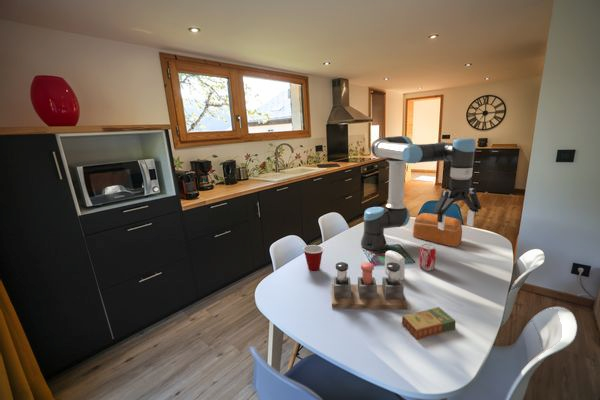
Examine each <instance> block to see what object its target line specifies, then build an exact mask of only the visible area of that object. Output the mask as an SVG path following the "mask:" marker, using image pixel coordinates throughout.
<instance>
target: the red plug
mask: <svg viewBox="0 0 600 400" xmlns="http://www.w3.org/2000/svg"><path fill="white" fill-rule="evenodd" d="M360 269H361V271H362V272H361V274H362V276H361V277H362V285H372V277H373V271H374V269H375V265H374V264H373V263H371V262H367V261H366V262H362V263H361V264H360Z"/></svg>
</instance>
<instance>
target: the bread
mask: <svg viewBox="0 0 600 400" xmlns="http://www.w3.org/2000/svg"><path fill="white" fill-rule="evenodd" d="M437 217H438V214H436V213H435V214H434V213H429V212H427V213H426V212H422V213H420V214H417V216H416V217H415V219H414V222H413V230H412V236H413V237H414V238H416V239H421V240H424V241H427V242H433V243H437V244H440V245H444V246H449V247H453V248H454V247H458V246H459V245H460V244H461V243H462V240H463V239H462V238H463V236H462V235H463V226H462V221H461V220H460V219H458V218H455V217H451V216H448V215H445V224H444V230H440V229H438V221H437Z"/></svg>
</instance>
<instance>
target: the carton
mask: <svg viewBox="0 0 600 400" xmlns="http://www.w3.org/2000/svg"><path fill="white" fill-rule="evenodd" d="M456 323H457V322H456V319H455V318H453V317H452V316H451V315H449V314H448V313H447V312H445V311H444V310H443V309H442V308H441V307H440V306H439V307H438V306H437V307H434V308H429V309H425V310H421V311H417V312H414V313H410V314H409V313H408V314H404V315H402V318H401V325H402V326H403V327H404V328H405V329H406V330H407V332H409V333H410V335H411V336H412V337H413V338H414V340H416V341H417V340H422V339H425V338H428V337H433V336H436V335H437V336H438V335H440V334H444V333H447V332H448V333H449V332H452V331H455V330H456Z"/></svg>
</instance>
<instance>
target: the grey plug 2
mask: <svg viewBox="0 0 600 400" xmlns="http://www.w3.org/2000/svg"><path fill="white" fill-rule="evenodd" d="M387 269H388V274H387V277H388V285H398V271H399V270H400V265H399V264H397V263H393V262H391V263H388V264H387Z"/></svg>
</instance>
